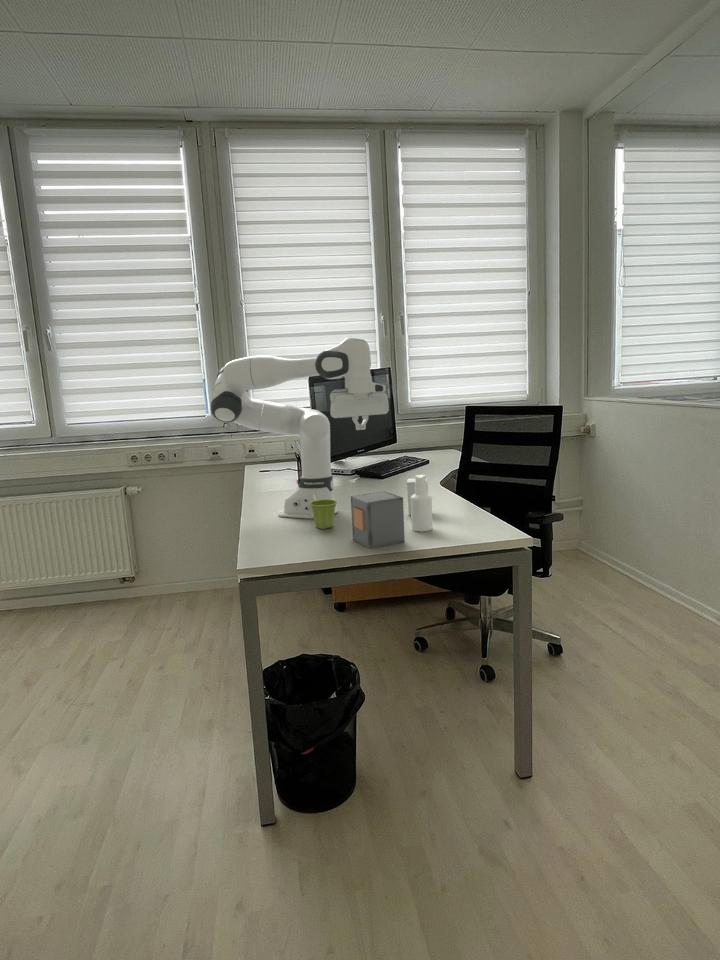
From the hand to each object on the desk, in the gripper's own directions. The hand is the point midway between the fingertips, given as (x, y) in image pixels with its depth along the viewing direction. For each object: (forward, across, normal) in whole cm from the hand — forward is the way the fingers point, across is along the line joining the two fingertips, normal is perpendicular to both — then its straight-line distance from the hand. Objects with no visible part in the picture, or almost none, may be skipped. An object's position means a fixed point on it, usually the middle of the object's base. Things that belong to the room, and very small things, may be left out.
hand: (360, 429), depth 199 cm
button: (+28, -9, -19) cm, 35 cm away
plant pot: (+33, -12, +7) cm, 36 cm away
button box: (+33, -5, -19) cm, 39 cm away
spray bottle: (+33, +13, -16) cm, 39 cm away
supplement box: (+33, +24, +4) cm, 41 cm away
